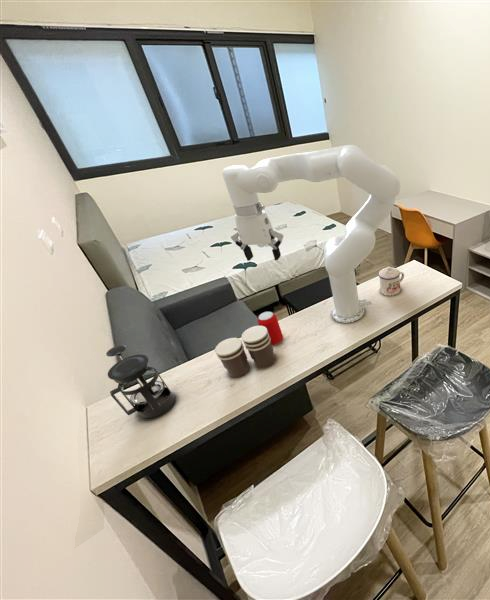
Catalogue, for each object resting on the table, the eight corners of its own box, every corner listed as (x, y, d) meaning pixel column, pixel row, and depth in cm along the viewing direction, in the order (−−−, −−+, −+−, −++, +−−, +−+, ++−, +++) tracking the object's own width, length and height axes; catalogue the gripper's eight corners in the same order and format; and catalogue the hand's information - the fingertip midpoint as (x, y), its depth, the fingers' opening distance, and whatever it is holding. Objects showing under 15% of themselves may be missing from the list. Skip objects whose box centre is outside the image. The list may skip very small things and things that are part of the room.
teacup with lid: (387, 298, 136) (385, 275, 129) (376, 290, 142) (373, 266, 135) (410, 288, 141) (409, 265, 135) (398, 280, 148) (396, 258, 141)
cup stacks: (275, 350, 113) (265, 322, 106) (279, 364, 107) (268, 336, 100) (226, 366, 107) (212, 338, 100) (227, 382, 102) (212, 353, 95)
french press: (173, 387, 101) (135, 331, 88) (182, 403, 96) (144, 346, 82) (129, 411, 94) (81, 354, 81) (136, 430, 89) (86, 372, 76)
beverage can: (283, 345, 115) (274, 319, 108) (265, 348, 114) (254, 322, 107) (284, 334, 120) (275, 308, 113) (267, 337, 119) (257, 311, 112)
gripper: (279, 204, 102) (292, 253, 112) (227, 205, 103) (245, 254, 113) (270, 212, 96) (284, 263, 105) (215, 214, 97) (234, 264, 107)
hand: (264, 258), depth 109 cm, fingers open, 9 cm apart
